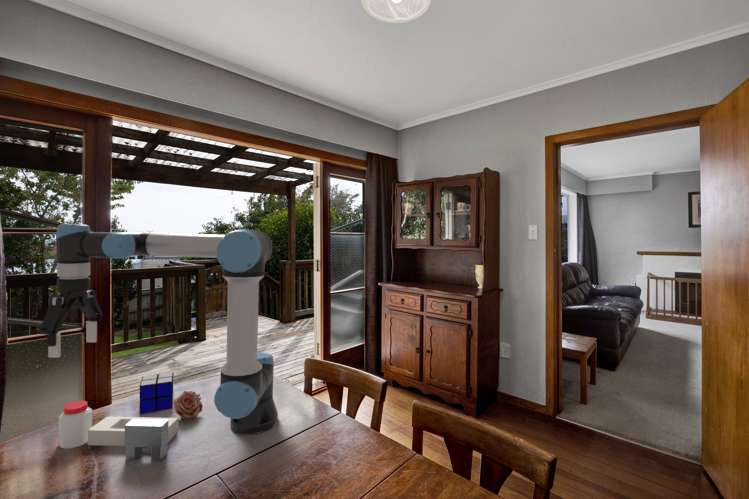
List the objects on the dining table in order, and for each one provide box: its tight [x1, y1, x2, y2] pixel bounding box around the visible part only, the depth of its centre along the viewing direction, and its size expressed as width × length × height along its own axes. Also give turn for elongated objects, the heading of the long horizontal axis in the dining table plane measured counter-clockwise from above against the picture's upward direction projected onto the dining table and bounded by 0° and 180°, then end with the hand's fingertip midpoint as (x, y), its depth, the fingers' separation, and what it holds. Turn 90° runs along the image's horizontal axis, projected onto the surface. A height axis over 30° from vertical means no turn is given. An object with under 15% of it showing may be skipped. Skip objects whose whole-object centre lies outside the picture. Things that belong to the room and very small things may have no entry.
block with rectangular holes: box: [87, 416, 179, 447], centre depth 112 cm, size 22×8×4 cm, turn 91°
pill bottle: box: [58, 400, 93, 449], centre depth 109 cm, size 8×8×11 cm
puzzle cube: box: [139, 371, 174, 415], centre depth 132 cm, size 10×10×10 cm
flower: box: [170, 390, 203, 421], centre depth 125 cm, size 10×9×8 cm
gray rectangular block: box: [124, 419, 168, 462], centre depth 103 cm, size 10×4×10 cm, turn 91°
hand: (74, 349), depth 108 cm, fingers open, 13 cm apart
